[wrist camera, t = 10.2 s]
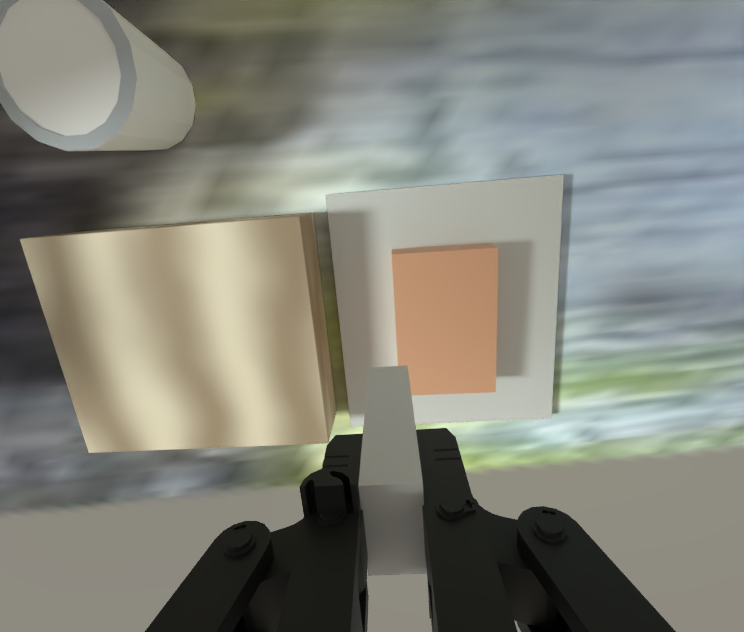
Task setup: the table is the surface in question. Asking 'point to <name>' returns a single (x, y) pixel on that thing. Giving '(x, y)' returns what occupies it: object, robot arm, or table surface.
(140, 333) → the board
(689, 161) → the table surface
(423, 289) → the terracotta block
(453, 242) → the grey mat
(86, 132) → the shot glass
